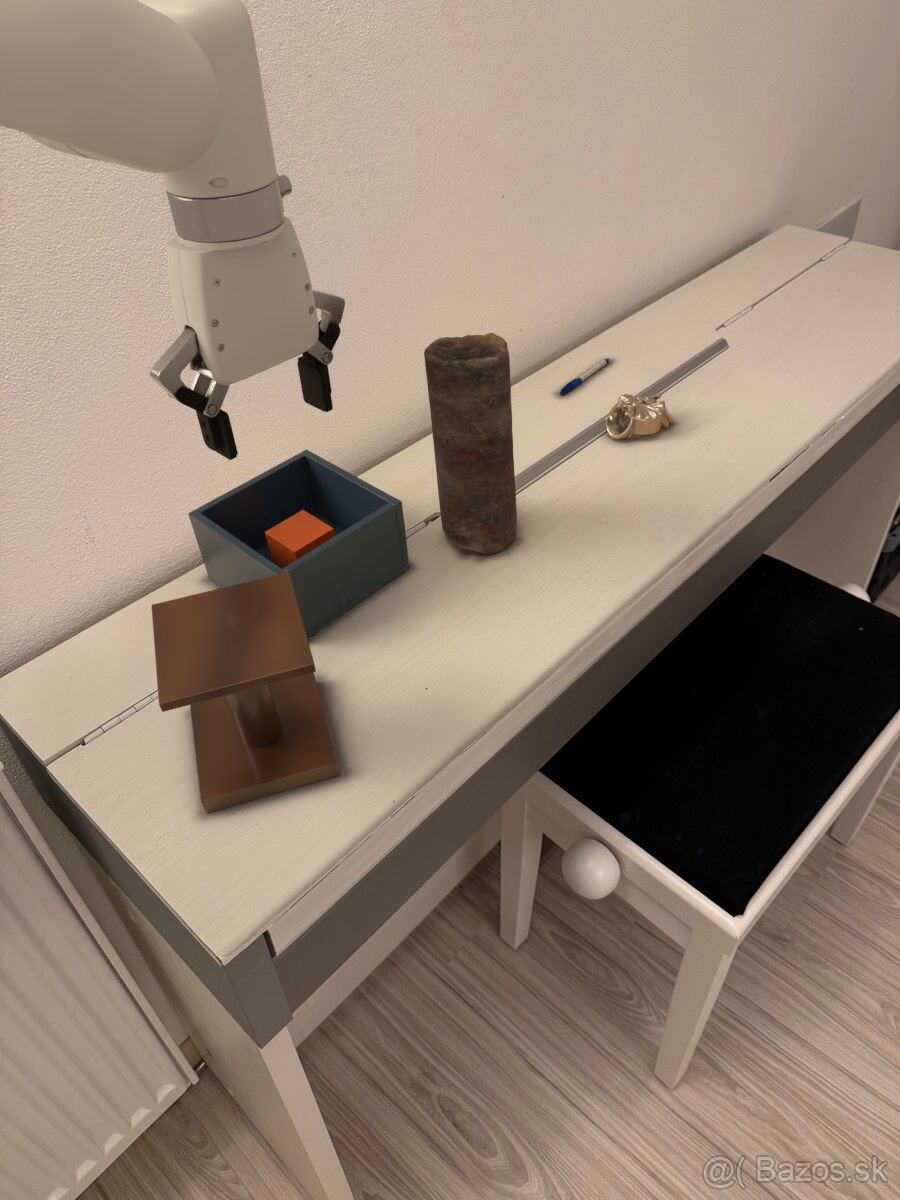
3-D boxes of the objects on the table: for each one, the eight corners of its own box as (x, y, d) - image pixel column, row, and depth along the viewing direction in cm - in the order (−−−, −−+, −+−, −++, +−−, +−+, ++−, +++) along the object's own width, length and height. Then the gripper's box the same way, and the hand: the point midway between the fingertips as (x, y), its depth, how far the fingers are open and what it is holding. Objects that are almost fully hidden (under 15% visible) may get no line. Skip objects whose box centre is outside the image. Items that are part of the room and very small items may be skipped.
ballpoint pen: (564, 397, 104) (564, 390, 103) (558, 395, 104) (558, 388, 104) (609, 363, 110) (610, 355, 109) (603, 361, 110) (604, 354, 109)
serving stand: (205, 813, 62) (158, 704, 54) (194, 713, 69) (150, 604, 61) (340, 775, 64) (314, 663, 56) (315, 681, 71) (289, 571, 63)
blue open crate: (297, 645, 75) (280, 577, 69) (209, 579, 82) (187, 513, 77) (410, 568, 81) (402, 501, 76) (319, 513, 89) (306, 448, 84)
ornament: (649, 404, 101) (652, 376, 99) (683, 432, 96) (687, 402, 94) (589, 422, 99) (591, 393, 97) (621, 450, 94) (624, 421, 92)
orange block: (303, 590, 79) (294, 552, 76) (273, 569, 81) (264, 531, 78) (340, 566, 81) (333, 528, 78) (311, 546, 83) (303, 509, 80)
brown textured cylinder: (428, 548, 84) (409, 356, 70) (456, 505, 88) (443, 319, 75) (502, 563, 81) (497, 368, 68) (527, 518, 86) (527, 328, 73)
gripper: (293, 172, 66) (325, 377, 77) (87, 234, 57) (157, 456, 68) (357, 189, 62) (381, 403, 73) (146, 259, 53) (210, 491, 64)
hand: (272, 428), depth 71 cm, fingers open, 9 cm apart
